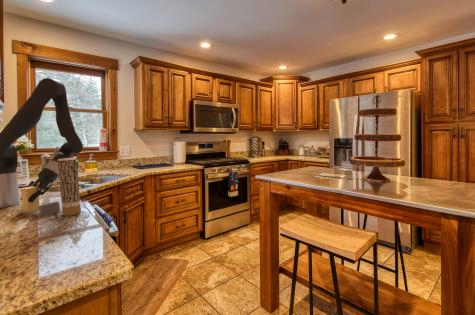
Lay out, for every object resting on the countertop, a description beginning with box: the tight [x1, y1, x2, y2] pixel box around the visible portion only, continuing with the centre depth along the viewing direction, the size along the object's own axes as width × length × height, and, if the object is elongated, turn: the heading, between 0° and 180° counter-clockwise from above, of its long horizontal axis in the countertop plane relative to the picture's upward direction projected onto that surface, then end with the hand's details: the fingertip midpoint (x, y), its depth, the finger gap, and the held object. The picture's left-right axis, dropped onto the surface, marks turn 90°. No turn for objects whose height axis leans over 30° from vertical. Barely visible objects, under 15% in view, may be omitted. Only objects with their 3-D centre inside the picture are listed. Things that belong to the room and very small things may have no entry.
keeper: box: [20, 186, 40, 212], centre depth 115 cm, size 4×4×11 cm
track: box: [18, 201, 61, 217], centre depth 113 cm, size 18×7×5 cm, turn 67°
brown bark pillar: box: [58, 157, 82, 217], centre depth 109 cm, size 7×7×25 cm
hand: (26, 201), depth 113 cm, fingers open, 5 cm apart
